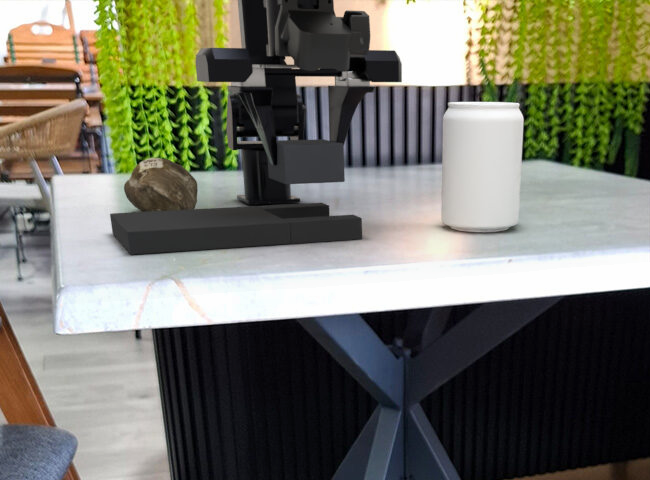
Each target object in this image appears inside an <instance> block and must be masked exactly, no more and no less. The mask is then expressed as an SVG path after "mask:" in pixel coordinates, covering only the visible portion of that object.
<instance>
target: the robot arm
mask: <svg viewBox="0 0 650 480" xmlns="http://www.w3.org/2000/svg"><path fill="white" fill-rule="evenodd" d="M334 1H335V0H237V9H238V22H239V33H240V47H204V48H200V49H199V50H198V51H197V53H196V54H195V71H196V72H195V73H196V82H201V83H230V85H226V88H227V92H228V94H227V101H226V102H227V104H226V105H227V106H226V109H227V110H226V126H225V127H226V129H225V130H226V138H227V139H226V140H227V147H228V149H230V150H231V151H238V150H240V151H241V163H242V175H243V176H242V177H243V189H244V194H237V195H236V199H237V200H239V201H241V202H243V203H245V204H247V205H250V206H254V205H274V204H293V203H301V198H300V197H298V196H295V195H293V194H292V187H291V185H292V184H284V183H281V182H279V181H276V180H273V179H271V178H269V173H268V158H269V160H270V163H271V164H272V165H277V142H276V141H277V138H279V137H280V138H287V137H288V138H289V140H305V127H306V117H307V107H306V106H305V105H304V103H303V100H302V96H301V95H300V93H298V90H297V80H296V77H305V78H306V77H307V78H308V77H311V78H312V77H314V78H315V77H318V78H319V77H322V78H323V77H325V78H326V77H327V78H328V77H330V78H332V77H334V85H328V86H327V93H328V94H327V95H328V96H327V97H328V125H329V126H328V133H329V136H328V137H329V141H333V142H338V143H343V144H344V145H345V143H346V140H347V137H348V132H349V129H350V126H351V124H352V120H353V117H354V115H355V113H356V110H357V108H358V106H359V104H360V102H361V101H362V100H363V99H364V97H365V96H366V94H369V93H371V94H372V93H375V90H376V86H371V83H402V81H403V79H402V77H403V76H402V75H403V69H402V68H403V67H402V66H403V65H402V60H401V58H400V56H399V54H398V52H396V50H390V49H389V50H386V49H384V50H383V49H382V50H381V49H370V44H371V24H370V23H371V22H370V20H371V19H370V15H369V14H368V13H367V12H366V11H365V10H345V11H344V13H343V16H336V12H335V4H334V3H335V2H334ZM288 57H289V58H292V60H293V64H287V61H286V58H288ZM229 92H230V93H229ZM238 138H260V140H242V141H241V140H238ZM267 156H268V158H267Z"/></svg>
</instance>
